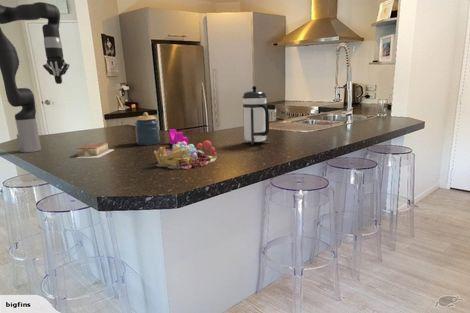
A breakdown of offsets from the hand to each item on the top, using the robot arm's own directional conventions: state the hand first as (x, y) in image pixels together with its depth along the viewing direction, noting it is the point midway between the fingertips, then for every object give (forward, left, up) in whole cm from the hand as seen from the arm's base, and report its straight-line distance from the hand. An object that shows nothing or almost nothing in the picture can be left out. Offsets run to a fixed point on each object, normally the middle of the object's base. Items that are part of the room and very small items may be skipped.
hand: (59, 83), depth 166 cm
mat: (+18, -7, -35) cm, 40 cm away
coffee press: (+98, +12, -35) cm, 105 cm away
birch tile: (+11, -6, -33) cm, 35 cm away
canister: (+36, +19, -35) cm, 54 cm away
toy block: (+55, +14, -35) cm, 67 cm away
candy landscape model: (+68, -26, -36) cm, 81 cm away
